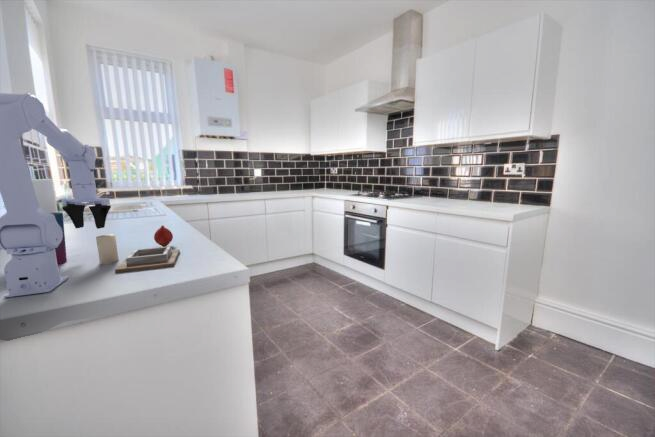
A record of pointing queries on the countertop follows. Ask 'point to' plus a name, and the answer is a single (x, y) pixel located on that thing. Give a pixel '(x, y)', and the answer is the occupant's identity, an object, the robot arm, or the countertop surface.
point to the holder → (149, 259)
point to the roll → (107, 249)
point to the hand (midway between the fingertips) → (90, 227)
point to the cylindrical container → (45, 194)
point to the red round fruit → (163, 236)
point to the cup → (61, 247)
